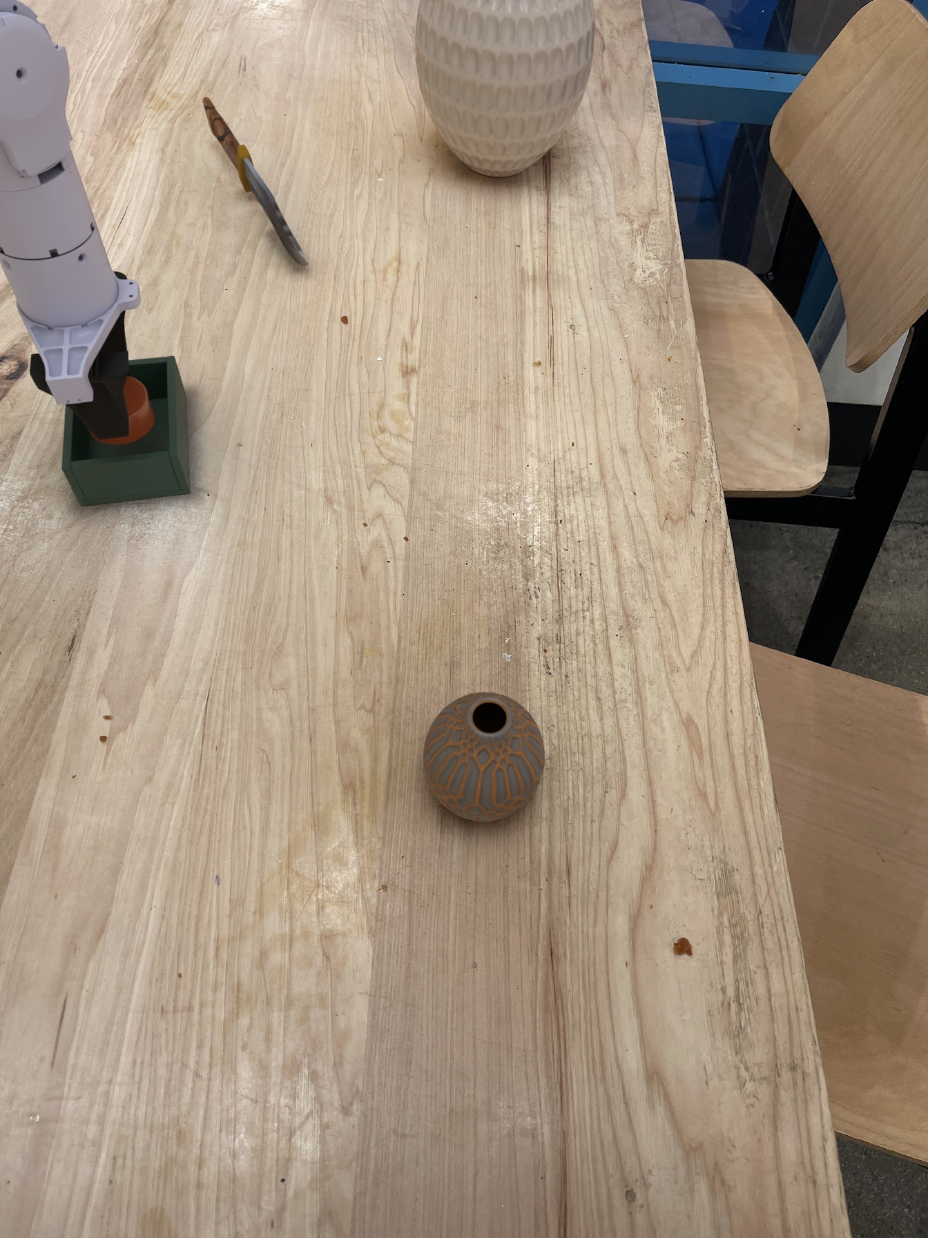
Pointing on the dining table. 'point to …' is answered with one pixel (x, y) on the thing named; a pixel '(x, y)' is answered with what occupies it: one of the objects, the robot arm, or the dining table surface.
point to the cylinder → (134, 413)
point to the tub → (134, 445)
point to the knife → (252, 180)
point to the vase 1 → (503, 75)
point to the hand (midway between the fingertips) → (114, 407)
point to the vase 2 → (483, 756)
